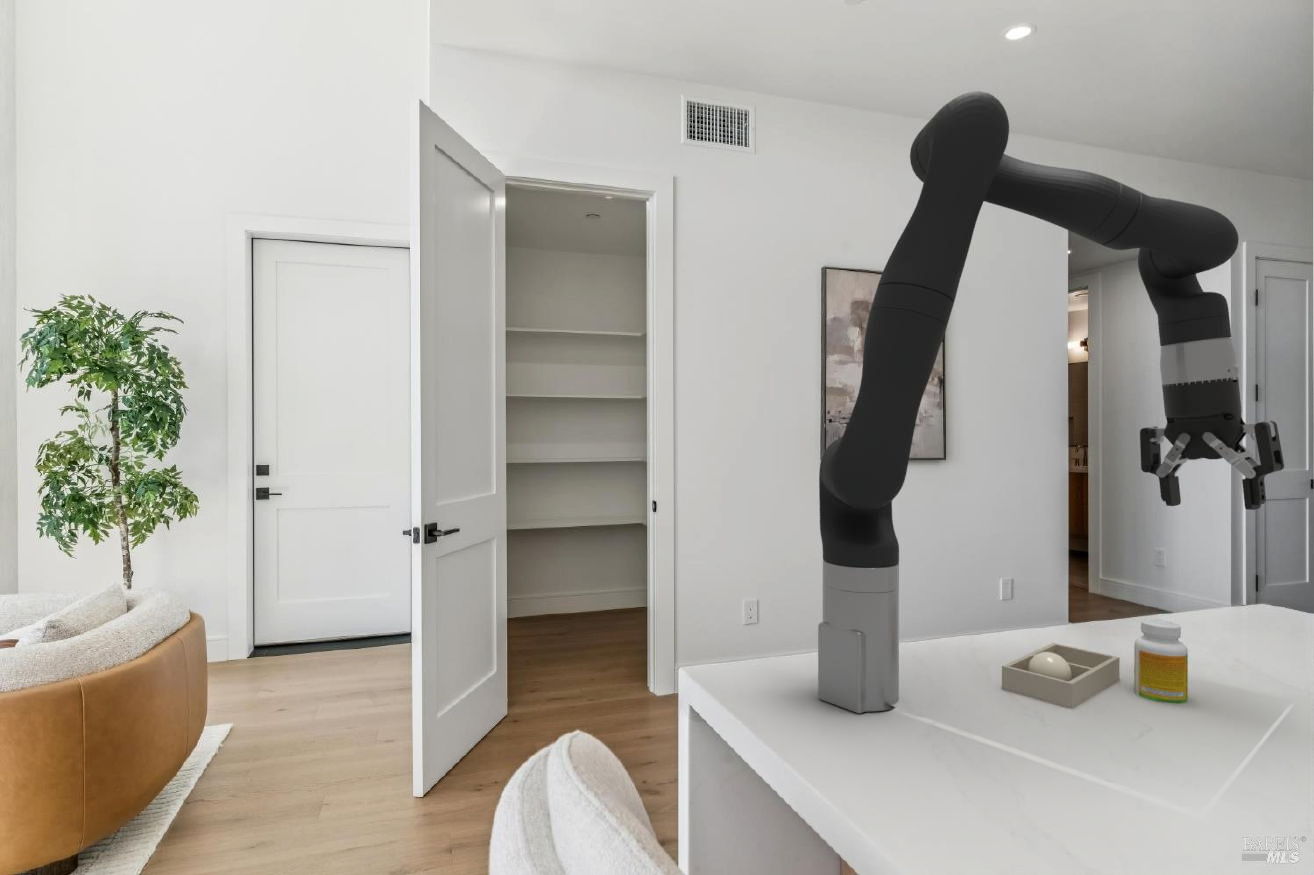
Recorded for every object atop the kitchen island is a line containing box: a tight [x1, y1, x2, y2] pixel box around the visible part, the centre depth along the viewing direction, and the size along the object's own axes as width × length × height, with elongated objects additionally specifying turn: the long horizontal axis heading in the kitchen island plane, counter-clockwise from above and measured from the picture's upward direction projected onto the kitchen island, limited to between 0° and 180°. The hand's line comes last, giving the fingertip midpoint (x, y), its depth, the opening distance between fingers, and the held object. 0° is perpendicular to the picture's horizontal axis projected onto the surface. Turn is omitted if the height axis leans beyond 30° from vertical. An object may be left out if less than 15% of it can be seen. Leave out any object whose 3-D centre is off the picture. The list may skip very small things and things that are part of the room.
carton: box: [1001, 642, 1121, 710], centre depth 90 cm, size 16×8×4 cm, turn 129°
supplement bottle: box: [1133, 618, 1189, 706], centre depth 85 cm, size 5×5×10 cm
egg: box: [1028, 652, 1072, 682], centre depth 87 cm, size 5×5×5 cm
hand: (1211, 507), depth 86 cm, fingers open, 8 cm apart
